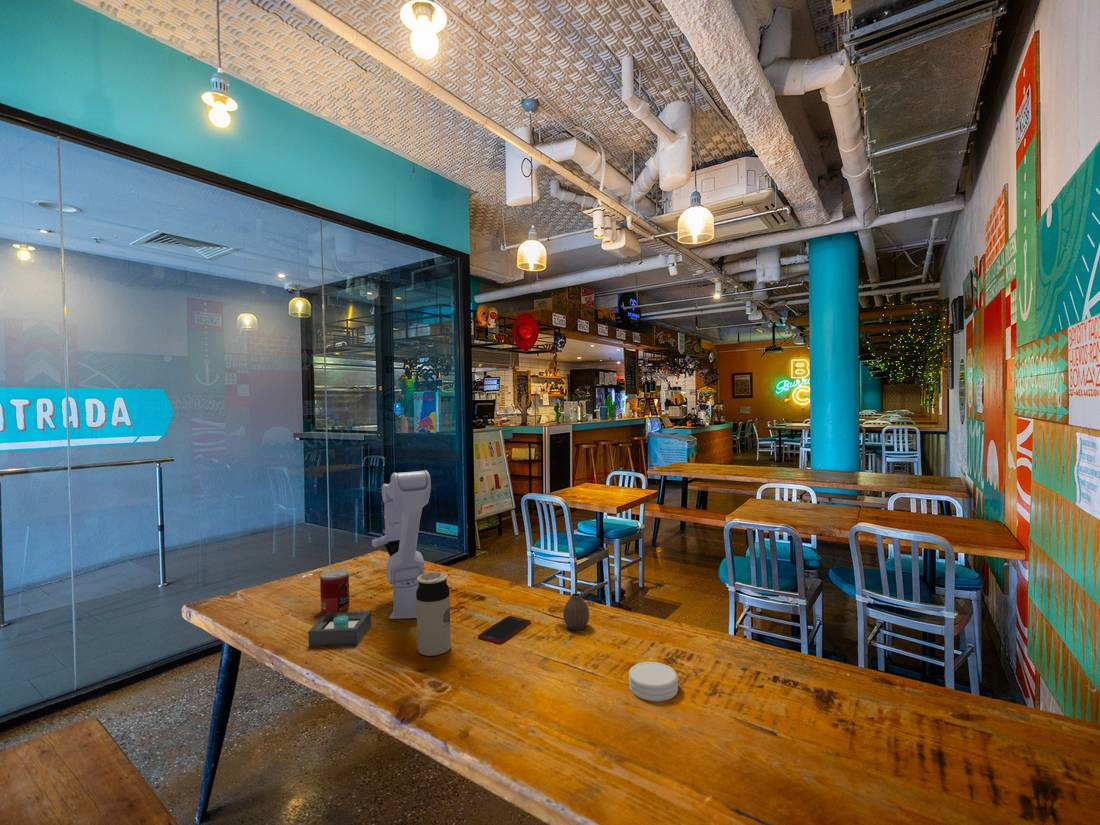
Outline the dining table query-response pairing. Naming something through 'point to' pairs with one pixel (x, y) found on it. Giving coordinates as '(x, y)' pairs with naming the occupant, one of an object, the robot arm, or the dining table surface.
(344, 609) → the canned food
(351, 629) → the press housing
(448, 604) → the travel mug
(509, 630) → the cell phone
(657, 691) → the coaster
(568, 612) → the vase
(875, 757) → the dining table surface
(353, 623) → the plunger
